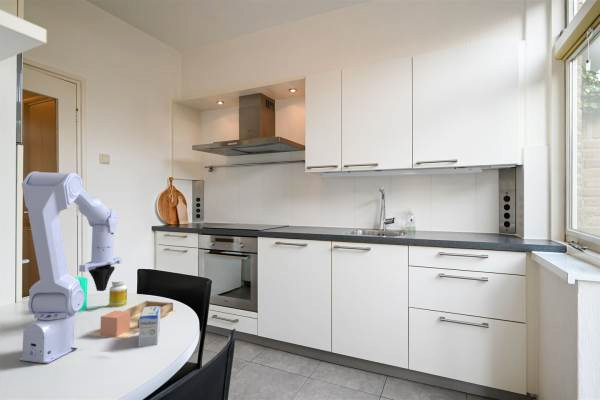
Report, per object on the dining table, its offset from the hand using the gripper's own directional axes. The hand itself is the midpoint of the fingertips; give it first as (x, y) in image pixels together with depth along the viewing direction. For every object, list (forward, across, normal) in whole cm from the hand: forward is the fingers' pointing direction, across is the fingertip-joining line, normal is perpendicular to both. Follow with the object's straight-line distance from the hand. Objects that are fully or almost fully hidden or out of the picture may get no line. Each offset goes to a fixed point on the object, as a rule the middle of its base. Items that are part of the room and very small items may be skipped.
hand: (101, 290), depth 97 cm
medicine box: (+10, -11, -25) cm, 29 cm away
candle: (+10, +7, +16) cm, 20 cm away
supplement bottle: (+10, +12, +4) cm, 16 cm away
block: (+8, -9, -13) cm, 18 cm away
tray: (+9, 0, -13) cm, 16 cm away
